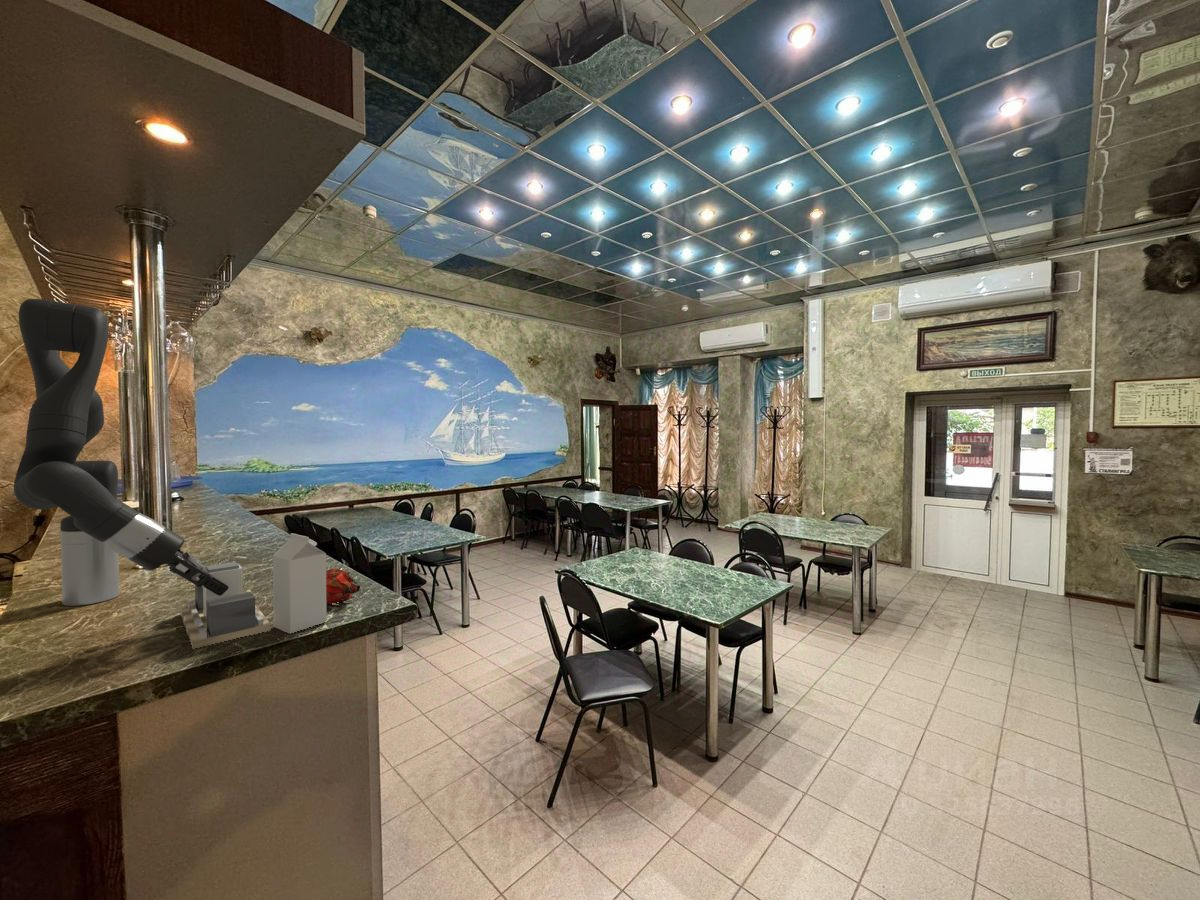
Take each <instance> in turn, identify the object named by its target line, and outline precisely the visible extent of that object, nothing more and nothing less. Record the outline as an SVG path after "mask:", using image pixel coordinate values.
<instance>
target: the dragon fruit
mask: <svg viewBox="0 0 1200 900" xmlns="http://www.w3.org/2000/svg"><path fill="white" fill-rule="evenodd" d="M356 584H358V582H356V581H355V578H354V577H353V576H352V575H350V572H349V571H348V570H343V569H340V568H338V567H334V568H328V569H326V604H329V605H331V604H332V603H336V604H340V603H337V602H339V601H340V602H341V601H345V599H346V600H347V601H348V600H350V599H351V598H352V597H353V594H355V593H358V592H359V591H360V589H361V585H360V584H359V585H356Z"/></svg>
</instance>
